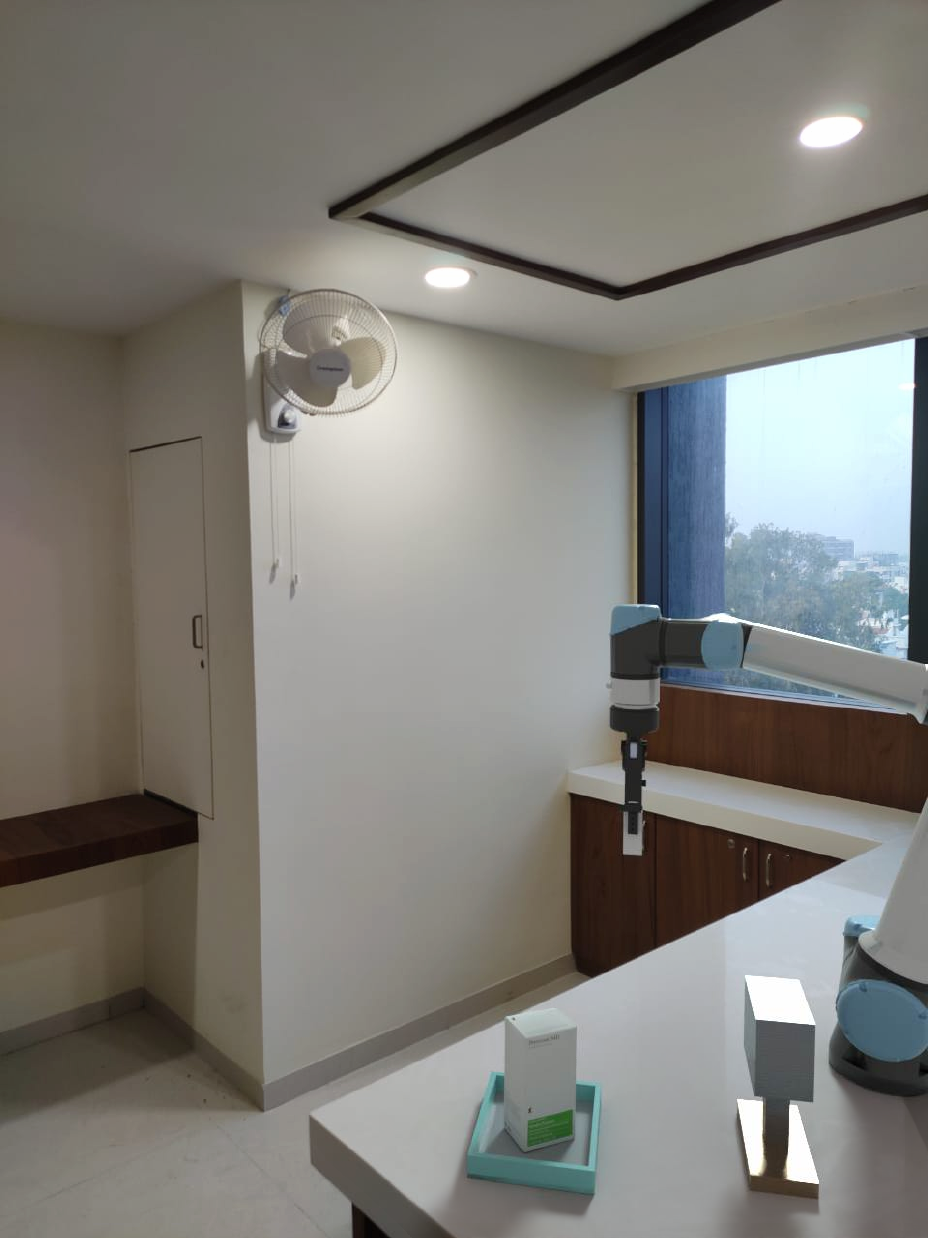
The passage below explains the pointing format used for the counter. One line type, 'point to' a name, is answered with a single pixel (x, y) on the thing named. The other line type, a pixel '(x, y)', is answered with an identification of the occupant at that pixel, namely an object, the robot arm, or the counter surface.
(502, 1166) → the tray
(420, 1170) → the counter surface
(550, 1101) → the skincare box
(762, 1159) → the mounted unit
